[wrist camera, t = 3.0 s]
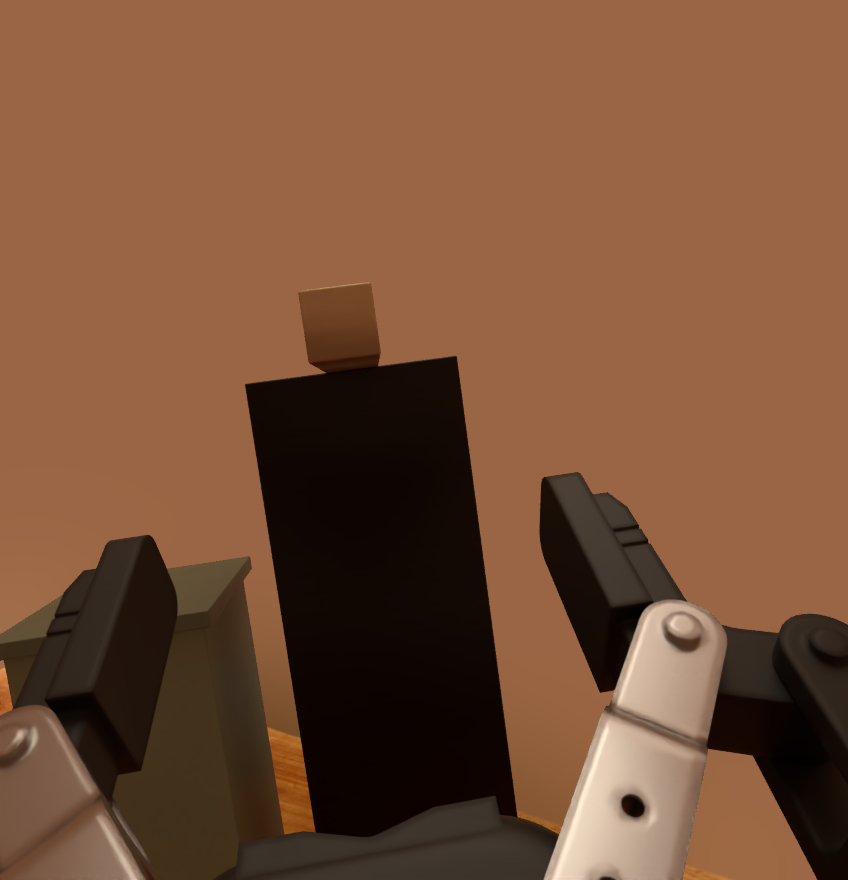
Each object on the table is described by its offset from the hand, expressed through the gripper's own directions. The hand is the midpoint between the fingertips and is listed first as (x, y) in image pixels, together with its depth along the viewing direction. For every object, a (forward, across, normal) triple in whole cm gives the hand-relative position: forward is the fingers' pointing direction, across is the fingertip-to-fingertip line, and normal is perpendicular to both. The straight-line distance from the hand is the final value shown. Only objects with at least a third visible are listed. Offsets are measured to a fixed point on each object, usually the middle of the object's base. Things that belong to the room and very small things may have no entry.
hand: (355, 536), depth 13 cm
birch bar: (+18, 0, +6) cm, 19 cm away
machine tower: (+4, 0, +34) cm, 35 cm away
